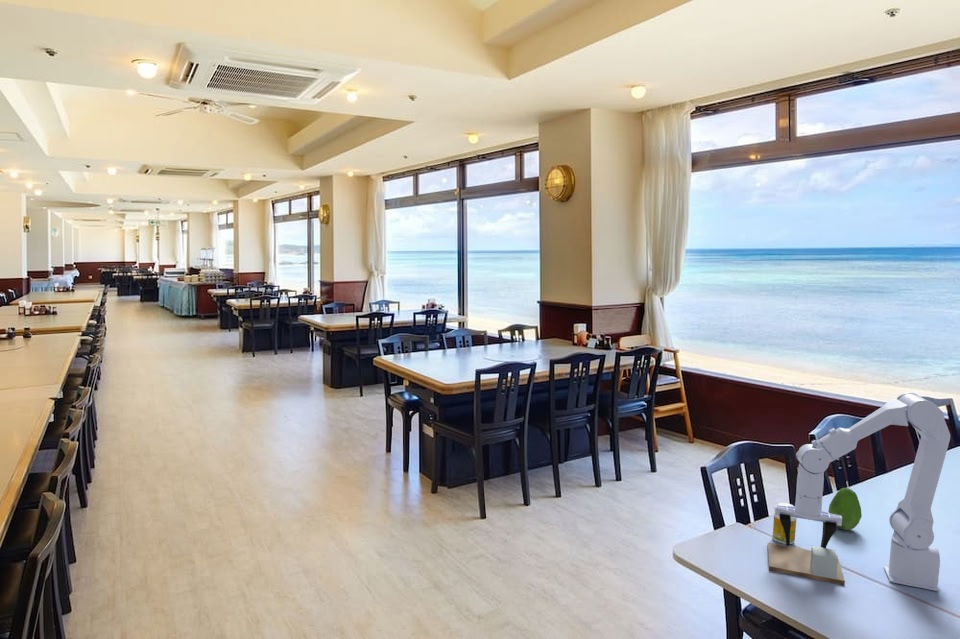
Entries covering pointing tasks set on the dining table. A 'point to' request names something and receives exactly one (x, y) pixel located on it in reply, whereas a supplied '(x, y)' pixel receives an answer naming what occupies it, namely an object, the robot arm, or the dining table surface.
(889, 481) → the dining table surface
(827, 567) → the pale blue-gray cube
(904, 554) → the robot arm
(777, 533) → the supplement bottle
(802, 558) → the brown wooden board
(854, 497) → the avocado
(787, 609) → the dining table surface
